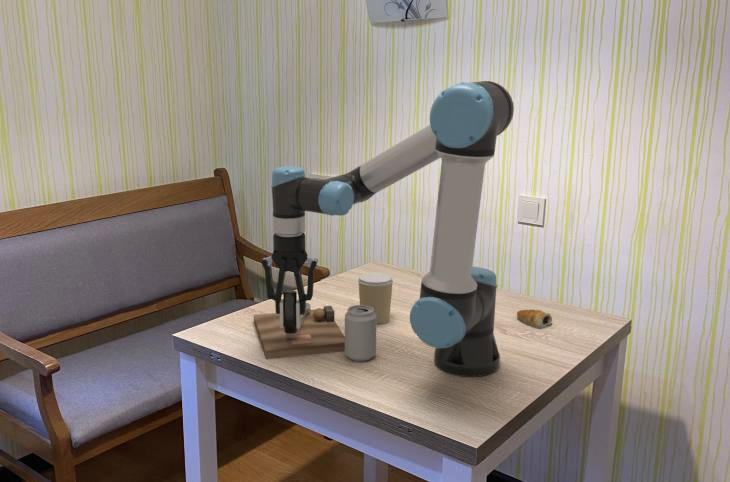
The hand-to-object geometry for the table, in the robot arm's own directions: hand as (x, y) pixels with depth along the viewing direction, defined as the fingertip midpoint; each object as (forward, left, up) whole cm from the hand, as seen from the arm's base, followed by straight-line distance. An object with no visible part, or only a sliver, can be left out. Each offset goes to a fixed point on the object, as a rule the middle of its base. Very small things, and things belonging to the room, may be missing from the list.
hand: (290, 326), depth 173 cm
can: (-9, -15, -6) cm, 19 cm away
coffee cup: (+13, -25, -6) cm, 29 cm away
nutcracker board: (+7, -3, -6) cm, 9 cm away
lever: (+9, -3, -3) cm, 10 cm away
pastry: (0, -66, -6) cm, 66 cm away
